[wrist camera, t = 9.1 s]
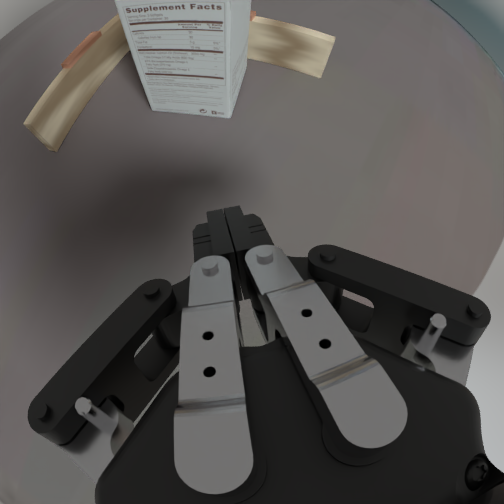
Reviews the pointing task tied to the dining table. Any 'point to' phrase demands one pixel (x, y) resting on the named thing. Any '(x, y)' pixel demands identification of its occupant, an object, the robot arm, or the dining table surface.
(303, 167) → the dining table surface
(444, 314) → the robot arm
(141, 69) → the supplement box
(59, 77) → the wooden corner bracket
